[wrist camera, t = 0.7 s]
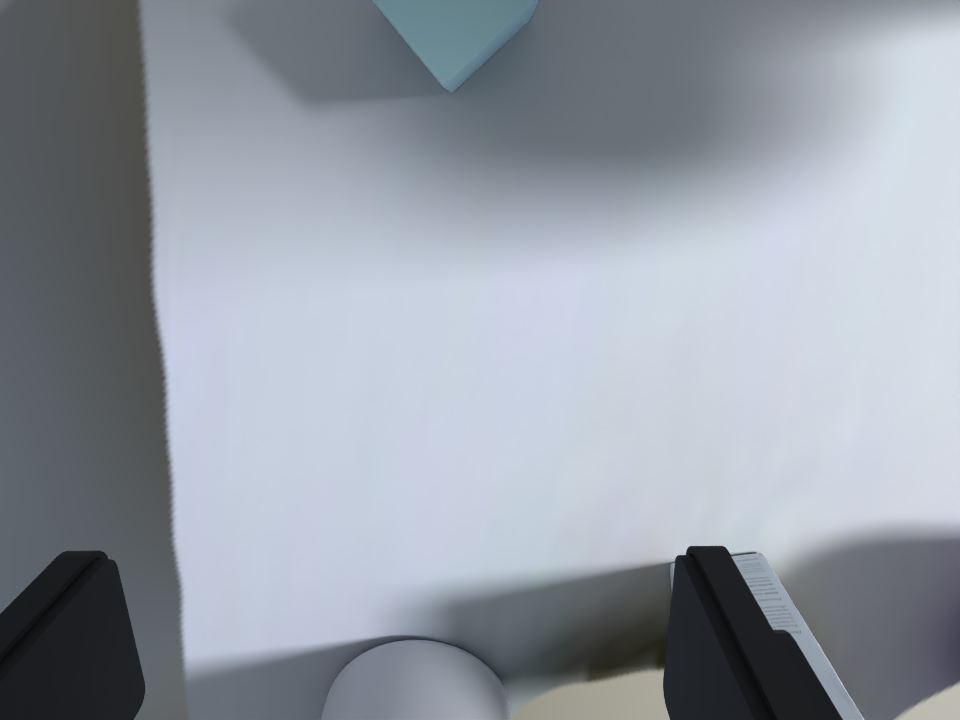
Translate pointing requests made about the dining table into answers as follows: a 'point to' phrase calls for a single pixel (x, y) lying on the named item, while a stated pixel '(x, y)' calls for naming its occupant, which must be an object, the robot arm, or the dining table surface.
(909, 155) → the dining table surface
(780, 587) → the skincare box
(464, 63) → the teal block
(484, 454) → the dining table surface
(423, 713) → the cylinder vase
